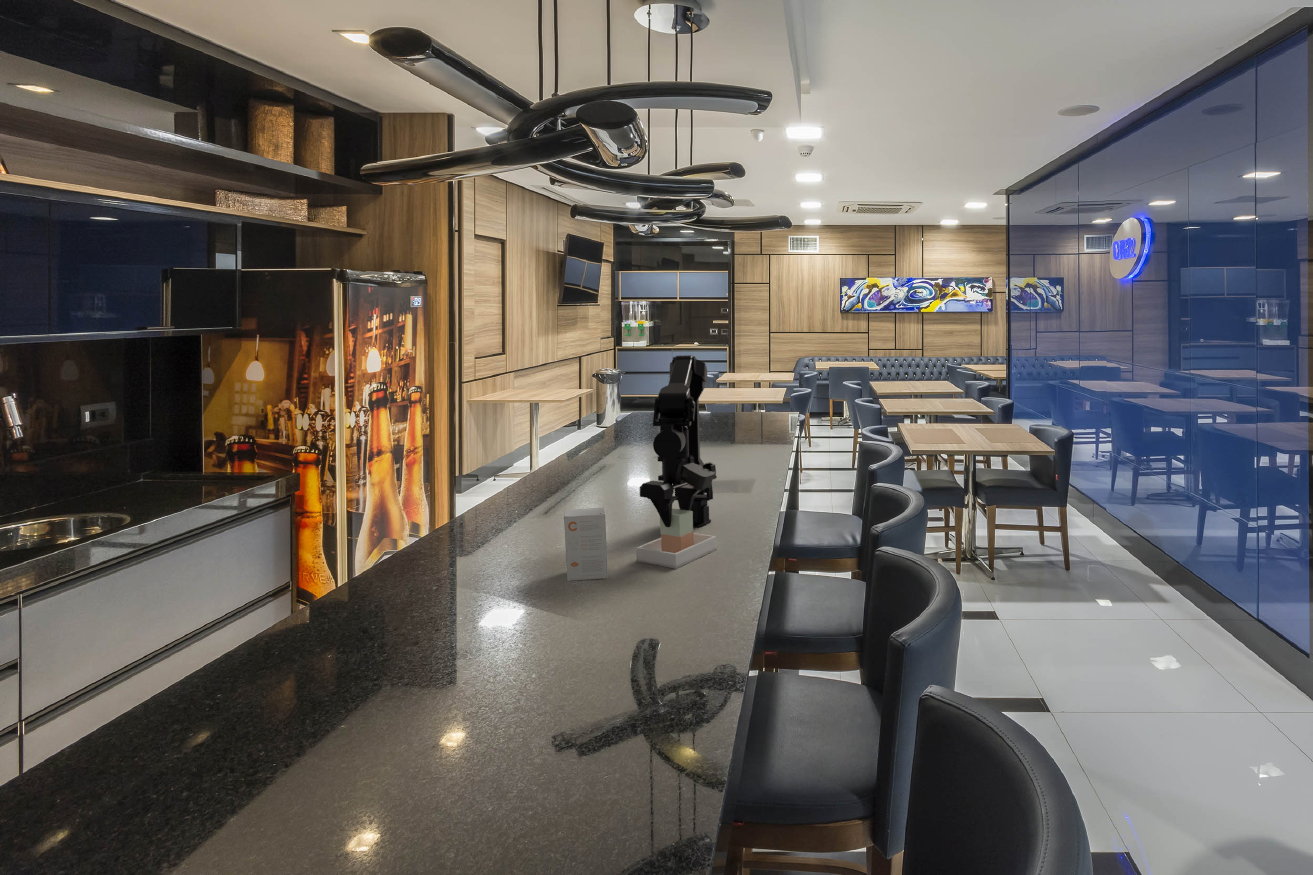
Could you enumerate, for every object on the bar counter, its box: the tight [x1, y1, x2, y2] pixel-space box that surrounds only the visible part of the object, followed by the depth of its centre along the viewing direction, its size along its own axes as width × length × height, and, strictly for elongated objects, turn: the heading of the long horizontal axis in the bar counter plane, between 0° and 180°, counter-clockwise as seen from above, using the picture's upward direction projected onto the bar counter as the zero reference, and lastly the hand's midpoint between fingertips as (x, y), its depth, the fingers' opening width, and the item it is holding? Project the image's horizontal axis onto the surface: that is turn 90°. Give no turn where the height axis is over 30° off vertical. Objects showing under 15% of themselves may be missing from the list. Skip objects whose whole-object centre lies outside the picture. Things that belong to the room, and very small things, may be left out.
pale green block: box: [659, 508, 694, 537], centre depth 174 cm, size 5×5×4 cm
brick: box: [660, 531, 695, 553], centre depth 175 cm, size 5×5×4 cm
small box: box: [563, 507, 609, 582], centre depth 162 cm, size 8×6×13 cm
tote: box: [635, 532, 718, 570], centre depth 175 cm, size 10×16×3 cm, turn 145°
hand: (676, 523), depth 174 cm, fingers open, 6 cm apart
